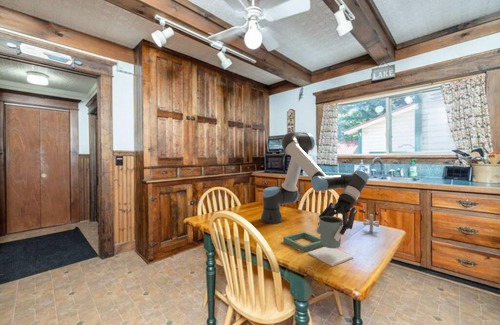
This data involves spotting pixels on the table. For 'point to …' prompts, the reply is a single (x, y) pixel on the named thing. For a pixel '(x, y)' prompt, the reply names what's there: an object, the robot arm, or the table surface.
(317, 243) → the square holder
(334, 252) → the ceramic tile
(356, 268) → the table surface
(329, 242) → the grey-green cup
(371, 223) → the pipe connector
